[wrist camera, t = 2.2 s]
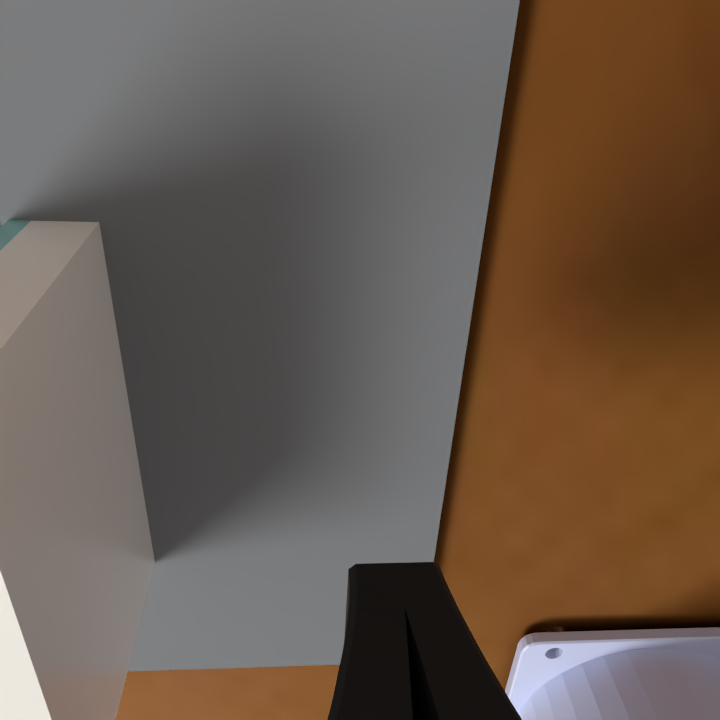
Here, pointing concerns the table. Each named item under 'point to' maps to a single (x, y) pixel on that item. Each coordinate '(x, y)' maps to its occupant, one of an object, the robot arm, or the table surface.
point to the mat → (270, 279)
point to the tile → (65, 481)
